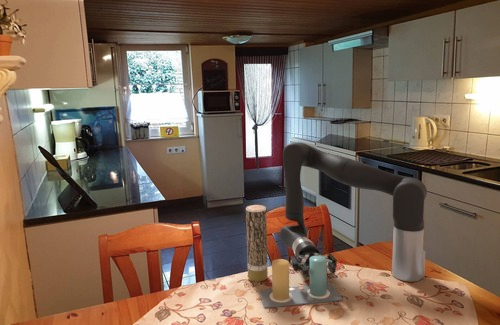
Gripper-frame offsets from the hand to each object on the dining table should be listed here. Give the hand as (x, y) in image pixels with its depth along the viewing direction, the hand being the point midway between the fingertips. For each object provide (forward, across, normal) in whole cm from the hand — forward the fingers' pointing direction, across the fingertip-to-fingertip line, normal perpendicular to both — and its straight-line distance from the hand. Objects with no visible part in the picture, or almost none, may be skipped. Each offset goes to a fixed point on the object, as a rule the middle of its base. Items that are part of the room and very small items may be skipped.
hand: (320, 272), depth 110 cm
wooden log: (-16, -17, +8) cm, 25 cm away
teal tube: (-2, 0, +8) cm, 8 cm away
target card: (-2, -6, +8) cm, 10 cm away
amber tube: (-2, -12, +8) cm, 15 cm away
